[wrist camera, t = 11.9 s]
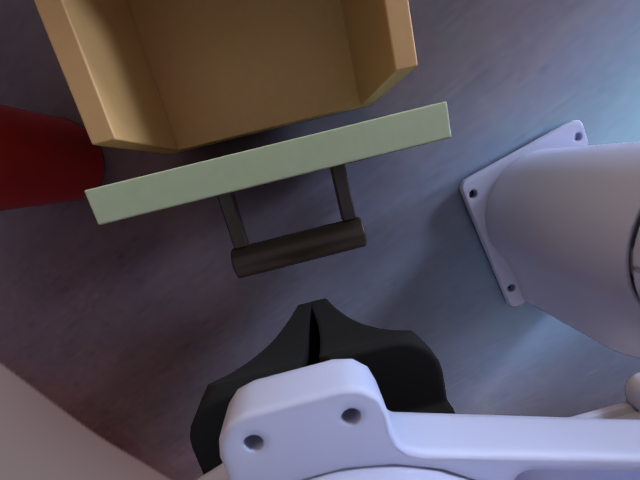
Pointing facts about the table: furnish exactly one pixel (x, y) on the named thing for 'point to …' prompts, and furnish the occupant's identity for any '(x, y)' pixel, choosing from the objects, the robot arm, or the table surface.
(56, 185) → the tea tin
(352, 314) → the table surface
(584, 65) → the table surface
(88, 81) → the drawer
